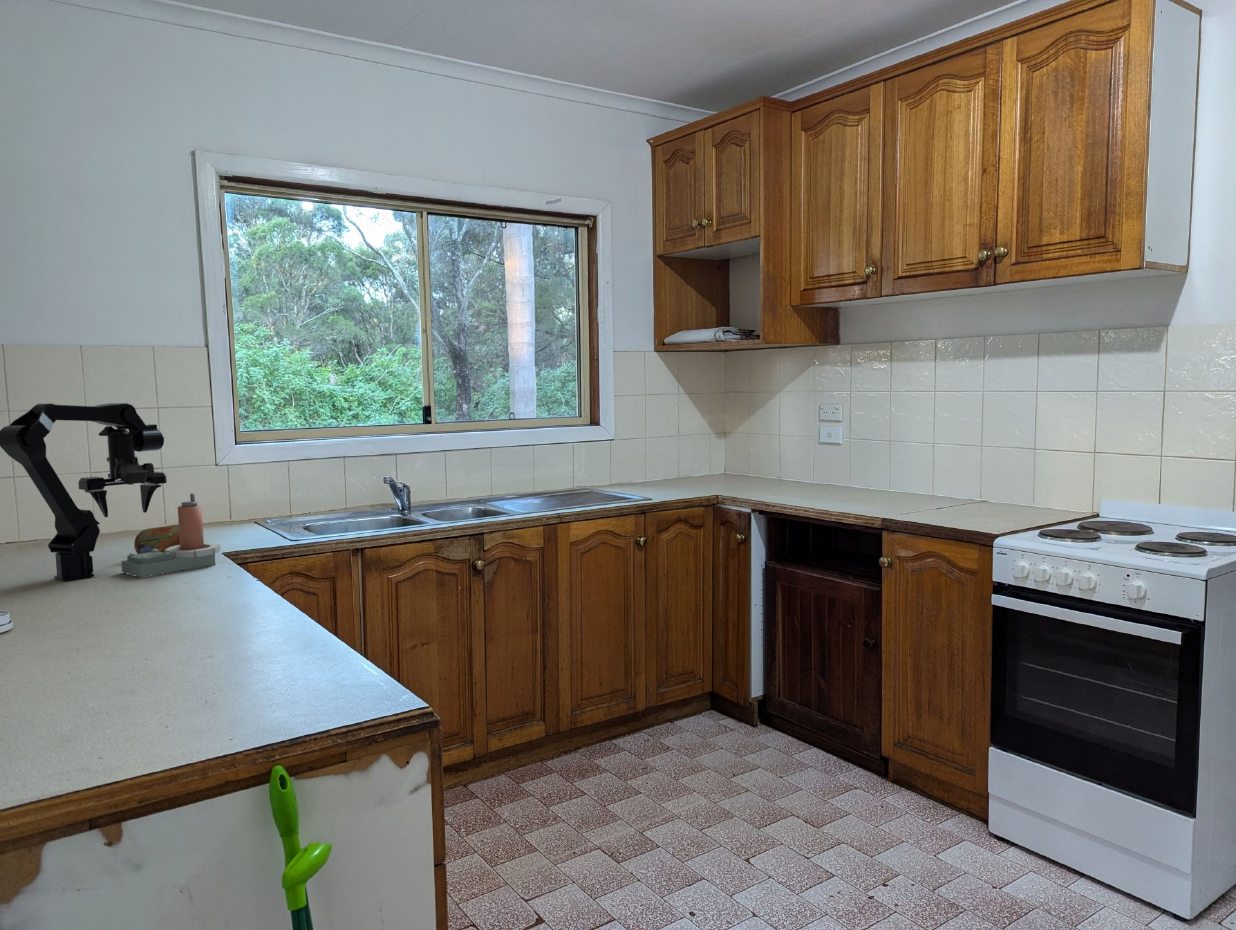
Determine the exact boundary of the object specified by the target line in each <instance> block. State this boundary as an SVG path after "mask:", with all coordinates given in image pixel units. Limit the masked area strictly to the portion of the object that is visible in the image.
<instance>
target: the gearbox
mask: <svg viewBox="0 0 1236 930" xmlns="http://www.w3.org/2000/svg"><path fill="white" fill-rule="evenodd" d="M219 552H221V544H219V543H214V542H210V543H209V542H204V548H203V549H197V550H180V545H177V546H173V547H169V548H167V549H165V553H163V552H159V551H158V549H153V550H152V552H148V553H142V554H137V553H136V552H129V553H128V555H127V556H126V557H127V559H125V560H120V562H121V573H122V572H124V573H129V574H131V575H136V576H138V577H137V578H139V577H145V578H147V577H146V576H150V575H156V576H159V575H158V574H162V573H167V574H171V573H170V572H173V573H177V572H178V571H179V572H182V571H181V570H184V571H189V570H188V569H190V570H194V569H193V568H196V569H200V568H206V567H205V566H207V567H211V565H213V566H215V565H216V554H217V553H219ZM124 573H123V574H124ZM131 575H130V576H131ZM162 575H163V574H162ZM150 577H151V576H150Z"/></svg>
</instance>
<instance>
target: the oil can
mask: <svg viewBox="0 0 1236 930" xmlns="http://www.w3.org/2000/svg"><path fill="white" fill-rule="evenodd" d="M195 495H196V494H195V493H189V499H190V501H183V502H181V505H180V506H177V516H178V517H177V518H178V524H179V537H180V550H197V549H203V548H204V543H205V539H204V525H203V509H202V504H198V501H196V496H195Z"/></svg>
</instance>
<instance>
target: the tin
mask: <svg viewBox="0 0 1236 930" xmlns="http://www.w3.org/2000/svg"><path fill="white" fill-rule="evenodd" d="M133 544H134V545H133V547H134V550H135V553H136V554H142V553H148V552H152V550H153V549H158V551H159V552H163V553H165V549H167V548H169V547H173V546H177V545H180V537H179V523H178V524H170V525H164V526H157V527H151V528H145V529H143V530H141V531H140V532H139V533H138V534H136V536H135V539H134V543H133Z"/></svg>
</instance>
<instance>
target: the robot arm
mask: <svg viewBox="0 0 1236 930" xmlns="http://www.w3.org/2000/svg"><path fill="white" fill-rule="evenodd" d="M57 421H71V422H72V421H73V422H76V421H77V422H92V423H97V424H98V425H102V426H103V425H105V427H104V428H103V429H102V430H101V431H100V432H99V433H98V436H100V437H106V439H107V449H108V450H107V451H108V456H107V457H106V462H108V464H109V473H108V474H107V478H104V477H103V476H102V477H100V476H89V477H88V476H87V477H81V478H80V479H79V480H78V483H77V484H78V490H81V491H82V490H83V491H84V492H85V493H88V494H90V495H91V497H92V498H93V500H94V501H95V503H96V504H97V506H98V508H99V509H100V511H101V513H102V515H103V517H104V518H108V517H109V511H108V503H107V494H108V490H106V489H104V488H105V487H110V486H119V485H120V486H121V485H122V486H123V485H130V486H131V485H134V484H139V487H140V498H141V499H140V500H141V510H142V513H143V514H144V513H146V514H147V512H148V509H149V506H150V502H151V499H152V498H153V495H154V493H155V491H156V490H157V489H159V488H161V487H162V485H163V484H167V475H166V474H165V473H164V472H161V471H155V468H154V464H153V463H152V462H146V463H145V462H144V463H142V464H140V463H139V459H138V456H136V453H135V452H138V453H139V452H150V451H158V450H160V449H162V448H163V446H164V444H165V437H164V436H163V433H162V432H161V430H159V429H158V425H157V424H154V423H152V424H146V423H145V421H143V419H142V418H141V416H140V415H139V414H138V412H137V410H136V408H135V407H134V405H133V404H131V403H128V402H124V403H123V402H121V403H112V402H110V403H102V404H97V405H93V406H91V405H90V406H89V405H71V404H67V405H65V404H55V403H37V404H35V405H34V406H33V407H31V408H30V409H29V410H28V411H27V412H26V413H24V414H22V415H21V416H19V417H18V418H17V417H16V419H14V420H13V421H12V422H11V423H10V424H9V425H6V426H3V428H0V448H1V449H2V450H3V451H4V452H5V453H6V454H7V455H8V457H10V458H11V459H13V460H14V461H16V462H17V463H18V464H20V465H21V466H22V467H23V468H24V470H25V471H26V473H27V474H28V475H29V477H30V479H31V481H32V482H33V483H34V486H36V489H37V490H38V492H39V493H40V495H41V496H42V498H43V499H44V501H45V503H46V504H47V506H48V507H49V509H50V510H51V513H52V514H53V516H54V528H55V530H56V534H55V535H54V537H53V538H52V539H51V540H50V542H48V544H47V547H48V549H49V551H50V553H54V554H55V567H56V575H53V576H54V577H53V578H54V579H56V580H60V581H63V582H67V581H68V582H69V581H73V580H74V579H75V580H81V579H85V578H86V577H87V578H92V577H95V573H94V561H93V559H94V558H93V556H92V555H91V553H92V552H94V551H95V549H96V545H97V540H98V537H99V536H100V535H99V534H100V533H101V529H100V527H99V525H100V522H99V521H98V520H97V519H96V518H95V515H94V513H93V512H92V511H93V510H91V509H80V508H78V506H77V504H76V503H75V501H74V500H73V499H72V496H71V495H70V493H69V492H68V491H67V488H66V487H65V486H64V483H63V482H62V481H61V479H60V478H59V476H58V474H57V473H56V471H55V469H54V467H53V466H52V465H51V462H50V461H49V460H48V457H47V444H46V442H45V438H46V436H47V435H49V434H50V432H51V430H52V428H53V425H54V424H55V422H57ZM114 427H115V428H114ZM87 578H86V579H87Z"/></svg>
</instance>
